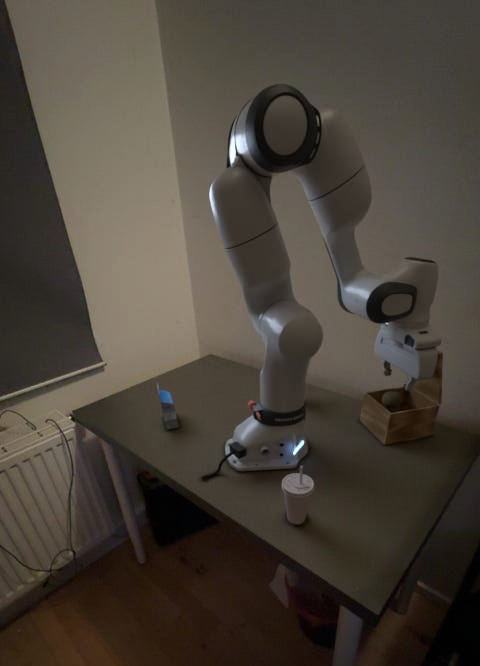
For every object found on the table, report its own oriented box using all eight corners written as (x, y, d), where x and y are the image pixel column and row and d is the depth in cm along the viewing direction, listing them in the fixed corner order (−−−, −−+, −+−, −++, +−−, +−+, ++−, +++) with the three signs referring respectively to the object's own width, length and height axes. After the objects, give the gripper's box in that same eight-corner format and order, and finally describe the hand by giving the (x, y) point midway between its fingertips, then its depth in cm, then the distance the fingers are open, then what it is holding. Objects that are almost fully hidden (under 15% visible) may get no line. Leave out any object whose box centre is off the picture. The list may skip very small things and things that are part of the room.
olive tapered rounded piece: (374, 431, 99) (380, 397, 93) (375, 421, 103) (382, 387, 97) (397, 435, 96) (405, 400, 91) (397, 424, 101) (405, 390, 95)
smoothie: (304, 534, 70) (308, 480, 62) (275, 522, 73) (276, 470, 65) (316, 513, 74) (321, 461, 67) (288, 503, 77) (290, 452, 70)
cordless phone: (179, 427, 107) (172, 391, 100) (165, 430, 106) (158, 394, 99) (175, 414, 114) (169, 380, 107) (162, 416, 113) (156, 382, 106)
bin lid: (439, 353, 83) (442, 352, 83) (405, 337, 94) (408, 336, 94) (438, 405, 91) (441, 404, 91) (407, 384, 102) (410, 383, 102)
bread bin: (384, 444, 94) (390, 414, 89) (359, 420, 105) (364, 392, 100) (431, 436, 96) (439, 406, 91) (402, 413, 107) (408, 385, 102)
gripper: (372, 321, 93) (365, 369, 100) (422, 344, 76) (409, 400, 83) (393, 318, 94) (385, 366, 101) (447, 341, 77) (433, 396, 84)
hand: (396, 381), depth 92 cm, fingers open, 8 cm apart
